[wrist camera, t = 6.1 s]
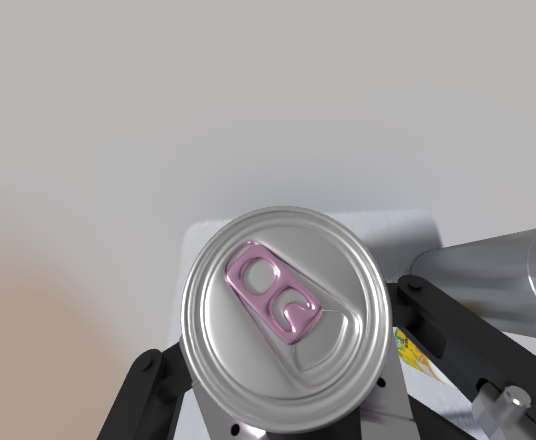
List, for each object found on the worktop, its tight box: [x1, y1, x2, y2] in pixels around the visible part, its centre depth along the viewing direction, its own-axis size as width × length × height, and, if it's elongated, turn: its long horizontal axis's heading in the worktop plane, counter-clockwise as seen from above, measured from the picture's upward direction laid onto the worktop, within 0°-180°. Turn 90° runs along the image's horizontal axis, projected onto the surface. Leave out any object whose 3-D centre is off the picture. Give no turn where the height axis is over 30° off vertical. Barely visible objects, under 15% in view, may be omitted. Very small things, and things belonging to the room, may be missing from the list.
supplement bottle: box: [393, 327, 459, 390], centre depth 23 cm, size 5×5×10 cm
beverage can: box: [181, 206, 393, 434], centre depth 13 cm, size 6×6×15 cm
